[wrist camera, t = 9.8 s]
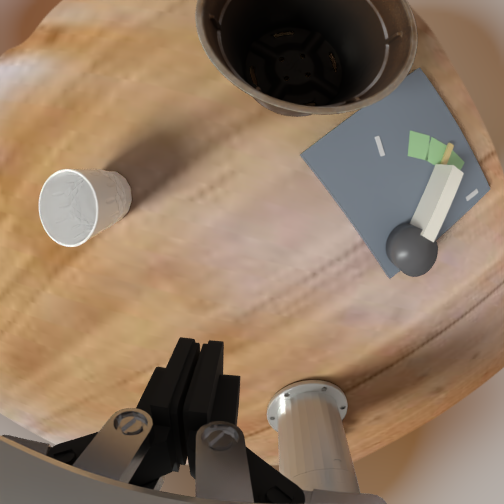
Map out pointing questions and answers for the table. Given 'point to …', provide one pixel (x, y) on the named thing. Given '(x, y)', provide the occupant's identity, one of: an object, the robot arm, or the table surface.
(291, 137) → the table surface
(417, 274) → the peg dial
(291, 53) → the plant pot
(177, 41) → the table surface
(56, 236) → the white cup
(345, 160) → the board
